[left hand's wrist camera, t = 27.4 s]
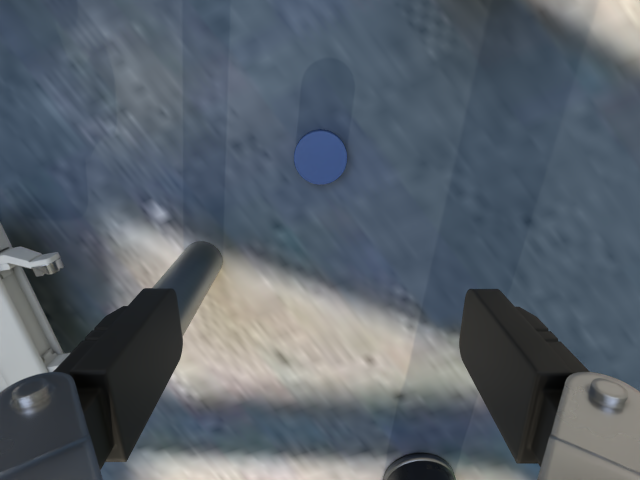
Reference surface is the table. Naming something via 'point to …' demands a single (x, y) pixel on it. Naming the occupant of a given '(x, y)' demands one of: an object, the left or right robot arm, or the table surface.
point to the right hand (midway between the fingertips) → (78, 307)
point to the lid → (320, 157)
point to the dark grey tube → (192, 278)
